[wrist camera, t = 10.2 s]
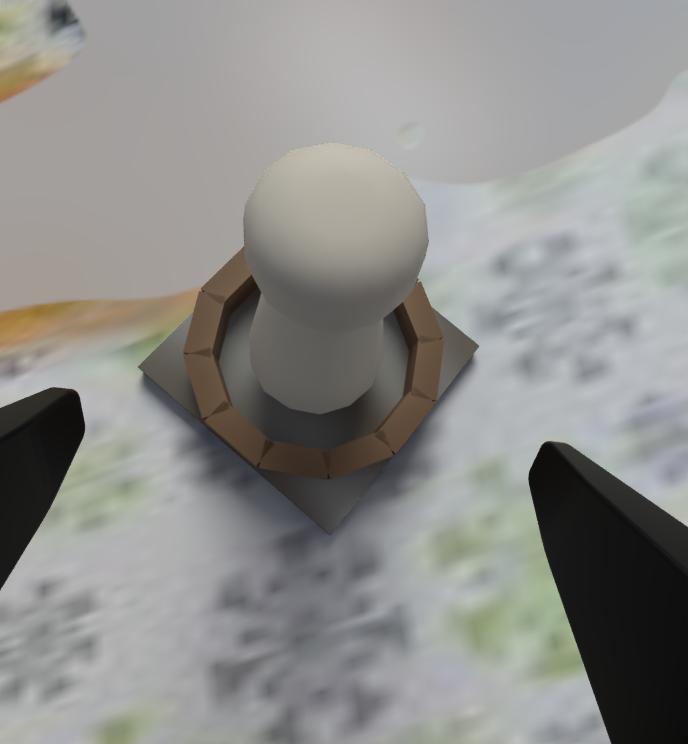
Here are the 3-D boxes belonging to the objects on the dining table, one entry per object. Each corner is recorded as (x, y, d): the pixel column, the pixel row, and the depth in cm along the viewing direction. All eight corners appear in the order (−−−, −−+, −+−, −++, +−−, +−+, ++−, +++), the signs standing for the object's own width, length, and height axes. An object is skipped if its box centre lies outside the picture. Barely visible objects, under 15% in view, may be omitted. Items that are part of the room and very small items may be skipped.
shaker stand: (329, 533, 21) (333, 541, 19) (143, 370, 22) (123, 357, 19) (473, 350, 24) (494, 335, 21) (303, 211, 25) (304, 181, 22)
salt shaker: (270, 434, 21) (233, 374, 8) (240, 320, 22) (167, 118, 10) (388, 401, 22) (512, 301, 9) (354, 293, 23) (425, 75, 10)
